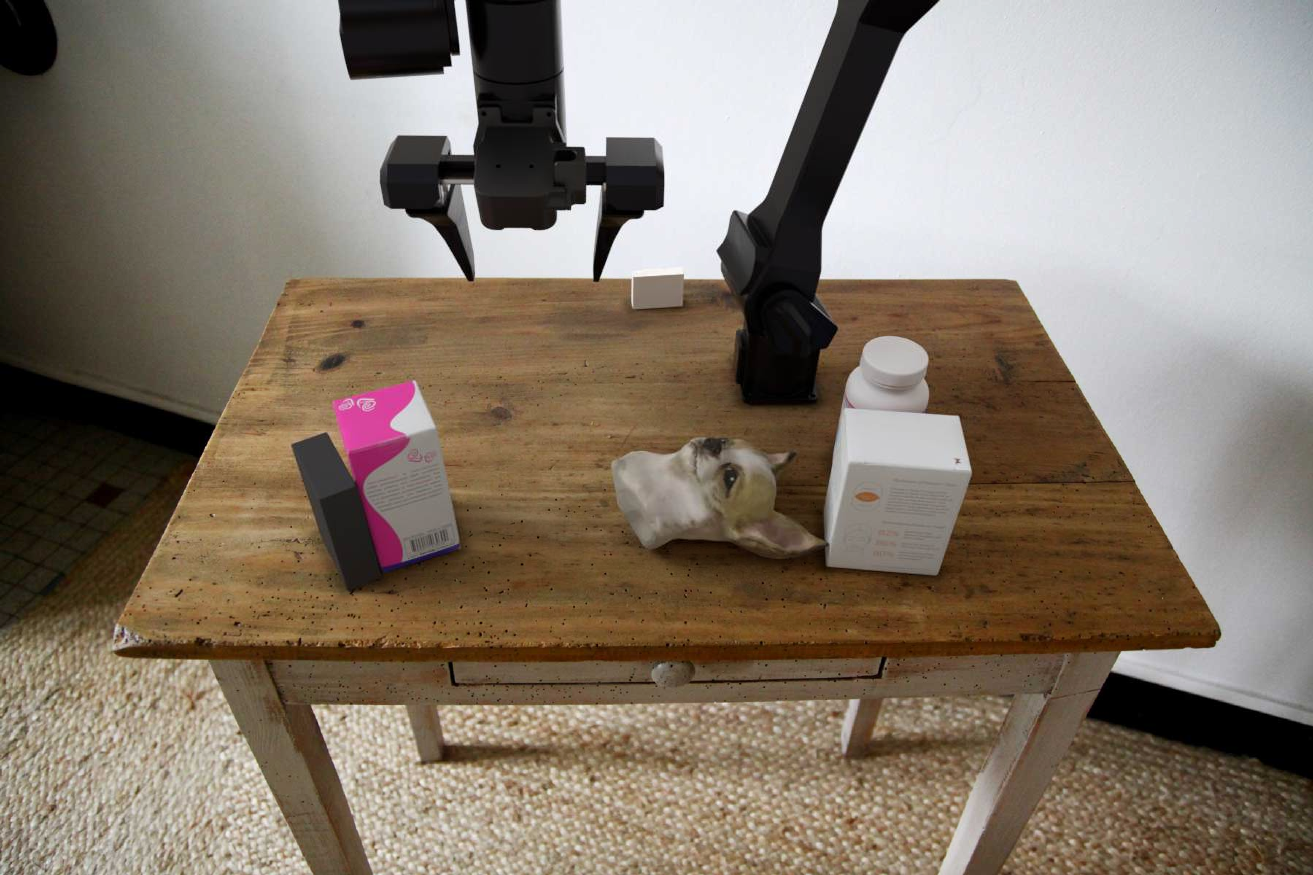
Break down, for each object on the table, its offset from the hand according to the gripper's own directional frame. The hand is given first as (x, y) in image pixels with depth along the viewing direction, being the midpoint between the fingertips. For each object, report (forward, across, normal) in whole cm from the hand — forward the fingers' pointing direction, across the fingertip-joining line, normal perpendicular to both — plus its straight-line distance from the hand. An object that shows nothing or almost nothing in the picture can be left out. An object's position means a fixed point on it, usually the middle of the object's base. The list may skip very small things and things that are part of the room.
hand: (534, 279), depth 69 cm
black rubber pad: (+13, -13, -16) cm, 24 cm away
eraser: (+13, +10, +16) cm, 23 cm away
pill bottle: (+13, +26, -7) cm, 30 cm away
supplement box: (+13, -9, -14) cm, 21 cm away
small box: (+13, +25, -15) cm, 32 cm away
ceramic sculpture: (+13, +13, -13) cm, 23 cm away
